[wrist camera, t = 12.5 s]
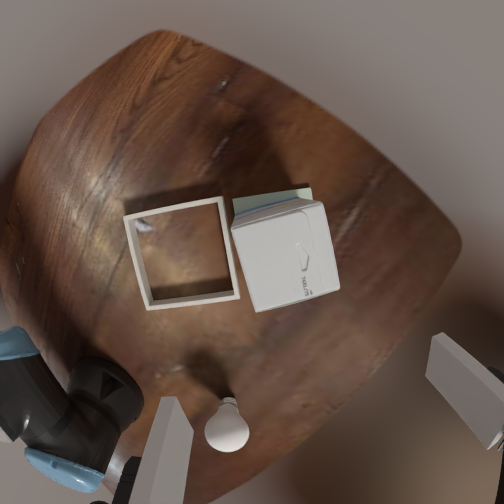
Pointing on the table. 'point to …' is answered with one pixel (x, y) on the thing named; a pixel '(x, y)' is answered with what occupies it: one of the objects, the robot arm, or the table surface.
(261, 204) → the mat
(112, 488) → the table surface
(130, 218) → the tray rim
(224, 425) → the light bulb
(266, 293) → the ink box
